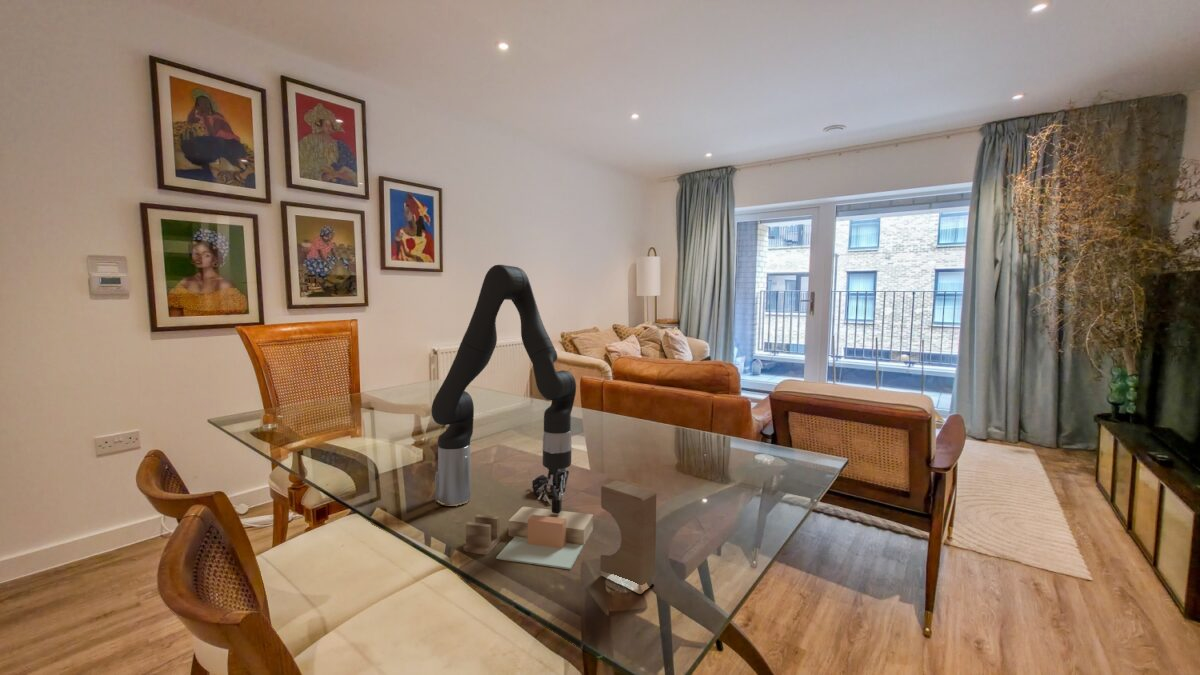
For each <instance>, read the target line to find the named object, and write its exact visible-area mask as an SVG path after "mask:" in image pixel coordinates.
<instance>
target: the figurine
mask: <svg viewBox="0 0 1200 675" xmlns="http://www.w3.org/2000/svg"><path fill="white" fill-rule="evenodd" d="M531 483H532V486H531V488H532V491H533V493H534V494H535V495H536V496H538V497H537V499H536V501H539V500H541V499H542V500H543V501H544V502H548V504H552V499H548V497H547V495H546V492H545V490H544V485H545V484H547V485H548V480H547V475H544V474H542V475H539V476H537V477H535V478H533V479H532V480H531Z"/></svg>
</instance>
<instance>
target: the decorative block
mask: <svg viewBox="0 0 1200 675" xmlns="http://www.w3.org/2000/svg"><path fill="white" fill-rule="evenodd" d="M600 489H601V490H600V492H601V493H600V494H601V495H600V496H601V497H600V507H601V509H602V510H605V511H606V512H608V513H609V514H610V515H611V517H612V518H613V519H614V520H615V522H616V524H617V526H618V528H619V531H620V537H621V538H620V539H621V540H620V545H619V546H616V545H615V546H614V547H612V548H610V549H609V550H607V551H605V552H604V553H602V554H601V555H600V563H599V564H600V566H599V567H600V570H601V571H603V572H606V573H610V574H614V575H617V576H619V577H622V578H625V579H628V580H630V581H633V582H635V583H637V584H639V585H643V584H645V583H646V582H648V581H649V580H650V579H651V578H652V577H653V576H654V575H655V576H656V548H657V547H656V543H657V542H656V540H657V537H656V536H657V535H656V533H657V531H656V530H657V492H656V491H653V490H650V489H647V488H644V487H640V486H638V485H633V484H630V483H627V482H624V481H620V480H618V479H616V480H613V481H611V482H608V483H607V484H604V485H602V486H601V488H600Z"/></svg>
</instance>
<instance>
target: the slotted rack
mask: <svg viewBox="0 0 1200 675" xmlns="http://www.w3.org/2000/svg"><path fill="white" fill-rule="evenodd" d="M502 538H503V537H502V534H501V533H500V516H497V515H496V516H495V515H486V514H479V513H478V514H476V515H475V516H474V522H472V521H468V522H467V523H465V545H463V552H464V551H465V552H464V553H471V554H479V555H484V556H487V555H488V554H489V553H491V551H492V550H493V549H494V547H495V546H496V545H498V544H499V543H500V541H502Z"/></svg>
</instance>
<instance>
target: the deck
mask: <svg viewBox="0 0 1200 675" xmlns="http://www.w3.org/2000/svg"><path fill="white" fill-rule="evenodd" d="M532 515H539V516H548V517H556V518H565V519H566V543H571V544H579V545H583V547H584V546H585V544H586V543H587V541H588V539H589V538H590V535H591V533H592V532H593V530H594V514H592V513H584V512H576V511H575V512H574V511H565V510H561V512H560V513H559V514H557V513H552V509H548V508H547V509H546V508H540V507H539V508H538V507H530V506H521V508H520V509H518V510H517V511H516V513H514V515H512V517H511V518H509V519H508V536H509V537H513V538H514V537H515V536H518V537H525V538H528V519H529V518H530V517H531V516H532Z"/></svg>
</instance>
